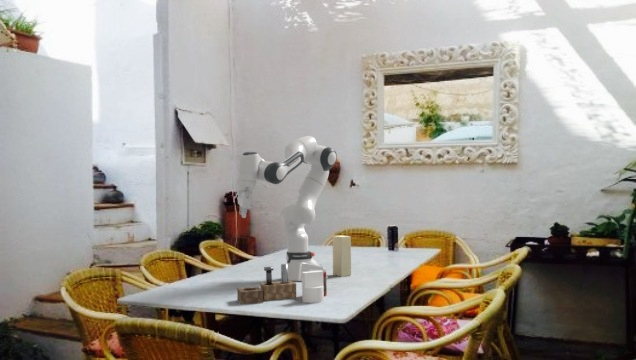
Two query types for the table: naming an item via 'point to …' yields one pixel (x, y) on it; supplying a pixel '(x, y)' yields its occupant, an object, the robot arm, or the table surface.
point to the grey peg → (284, 273)
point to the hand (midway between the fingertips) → (242, 216)
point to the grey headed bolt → (268, 275)
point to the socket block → (278, 290)
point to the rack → (249, 295)
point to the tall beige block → (341, 255)
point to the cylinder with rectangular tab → (312, 286)
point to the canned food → (323, 279)
